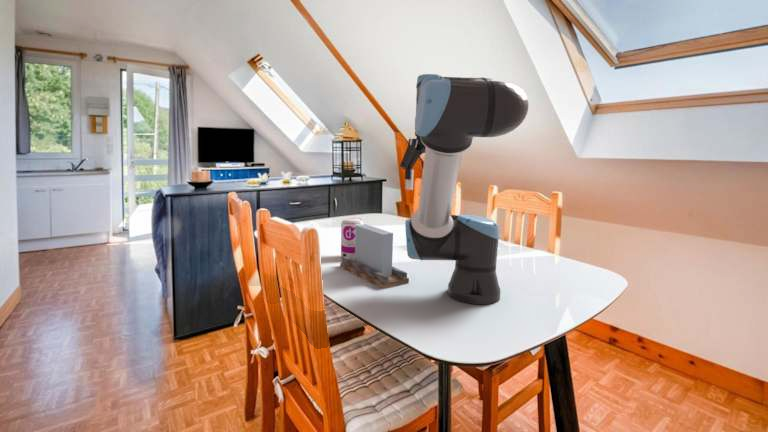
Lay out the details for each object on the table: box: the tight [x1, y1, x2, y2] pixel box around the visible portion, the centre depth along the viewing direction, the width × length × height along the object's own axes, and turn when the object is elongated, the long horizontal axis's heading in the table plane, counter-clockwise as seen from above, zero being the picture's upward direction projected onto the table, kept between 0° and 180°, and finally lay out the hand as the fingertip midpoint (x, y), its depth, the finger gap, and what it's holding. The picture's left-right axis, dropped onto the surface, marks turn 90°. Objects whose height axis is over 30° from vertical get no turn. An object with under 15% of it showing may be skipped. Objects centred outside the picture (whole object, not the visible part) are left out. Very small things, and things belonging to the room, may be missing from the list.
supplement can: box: [340, 217, 364, 260], centre depth 153 cm, size 8×8×15 cm
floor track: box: [339, 256, 410, 290], centre depth 136 cm, size 26×10×4 cm, turn 36°
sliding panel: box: [355, 223, 394, 276], centre depth 135 cm, size 16×4×14 cm, turn 36°
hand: (424, 188), depth 137 cm, fingers open, 13 cm apart
